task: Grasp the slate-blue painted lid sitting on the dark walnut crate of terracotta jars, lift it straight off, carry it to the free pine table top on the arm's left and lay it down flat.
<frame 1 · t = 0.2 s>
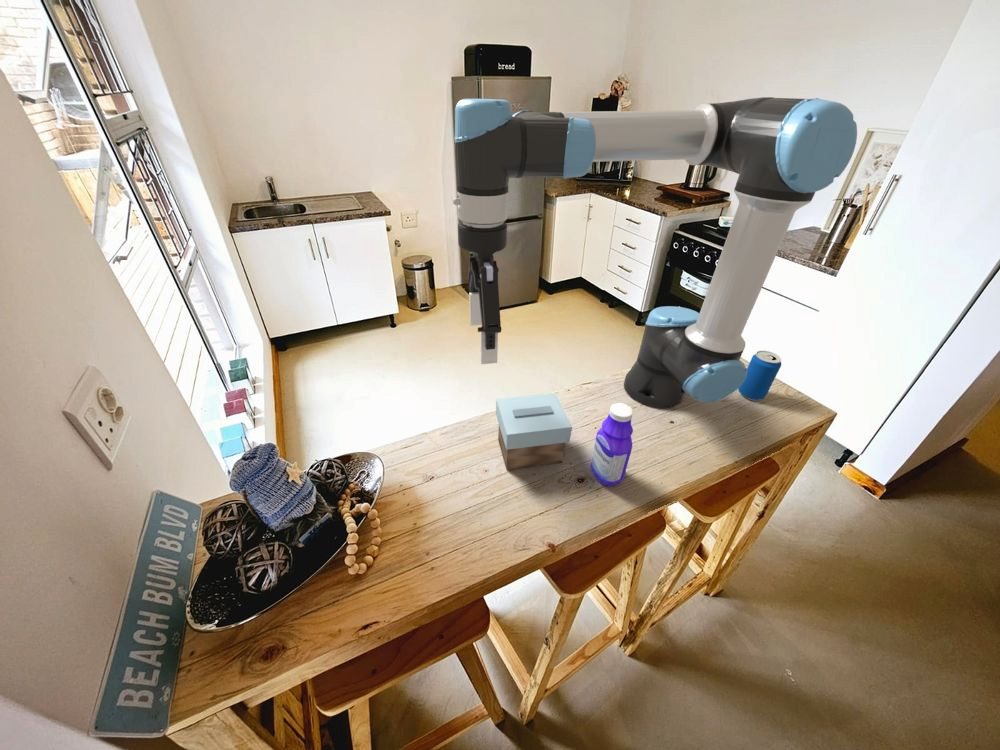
hand: (482, 342, 75), 27 cm above the table, fingers open, 13 cm apart
crate: (529, 451, 90), on the table
beverage can: (750, 395, 109), on the table
lid: (531, 427, 86), point 7 cm above the table, touching crate
bottle: (605, 475, 85), on the table
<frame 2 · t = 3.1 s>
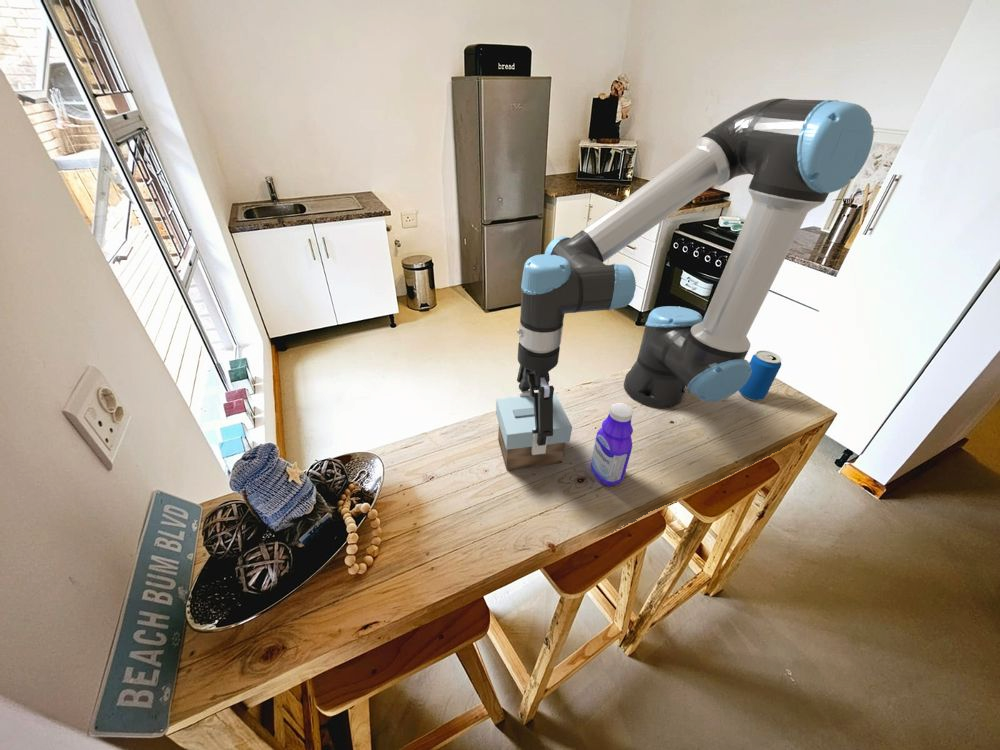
hand: (530, 433, 87), 5 cm above the table, fingers closed on lid, 11 cm apart
lid: (531, 427, 86), point 7 cm above the table, touching crate, gripper
everything else where it was.
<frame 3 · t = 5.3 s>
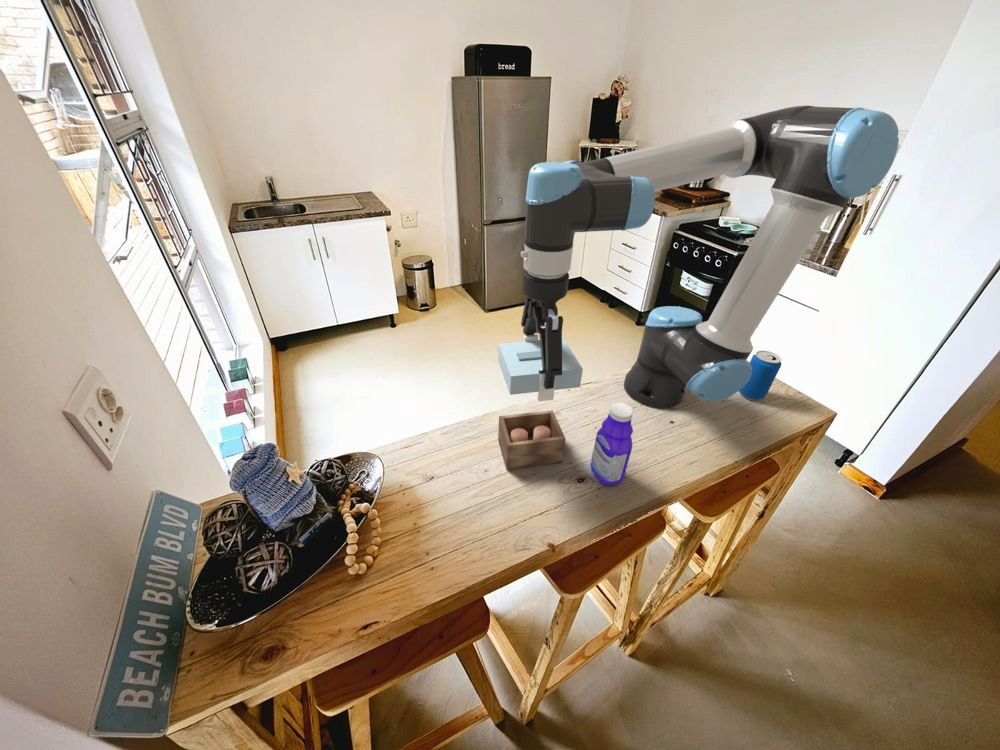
hand: (536, 380, 79), 19 cm above the table, fingers closed on lid, 11 cm apart
lid: (537, 373, 78), point 21 cm above the table, touching gripper
everything else where it was.
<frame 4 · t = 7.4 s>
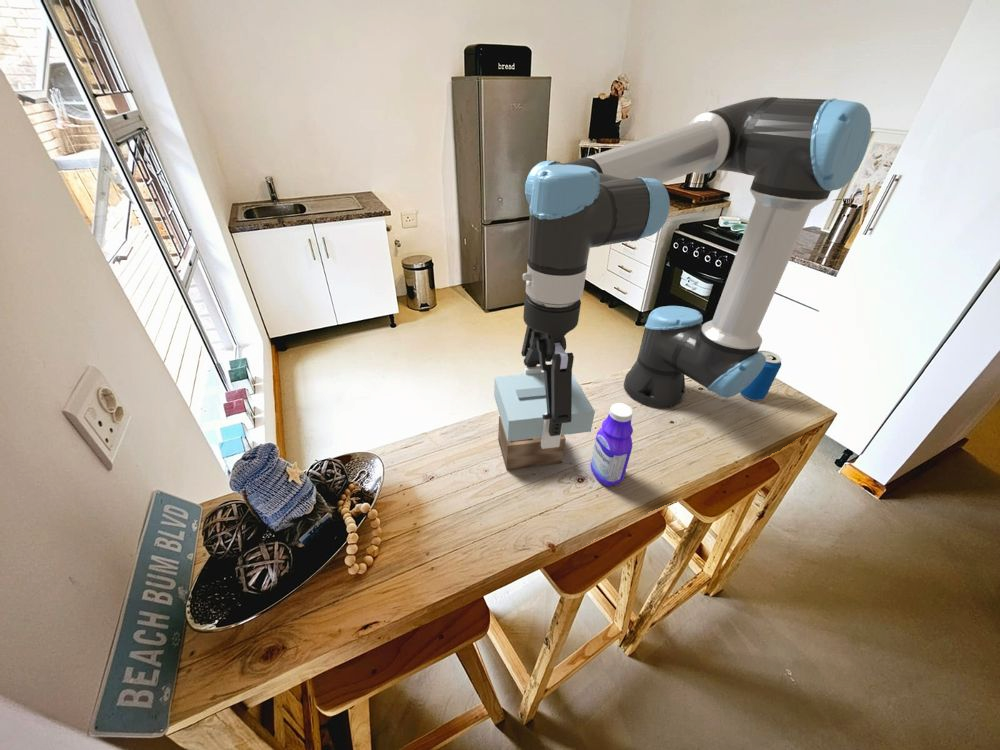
hand: (539, 420, 67), 21 cm above the table, fingers closed on lid, 11 cm apart
lid: (540, 412, 66), point 22 cm above the table, touching gripper
everything else where it was.
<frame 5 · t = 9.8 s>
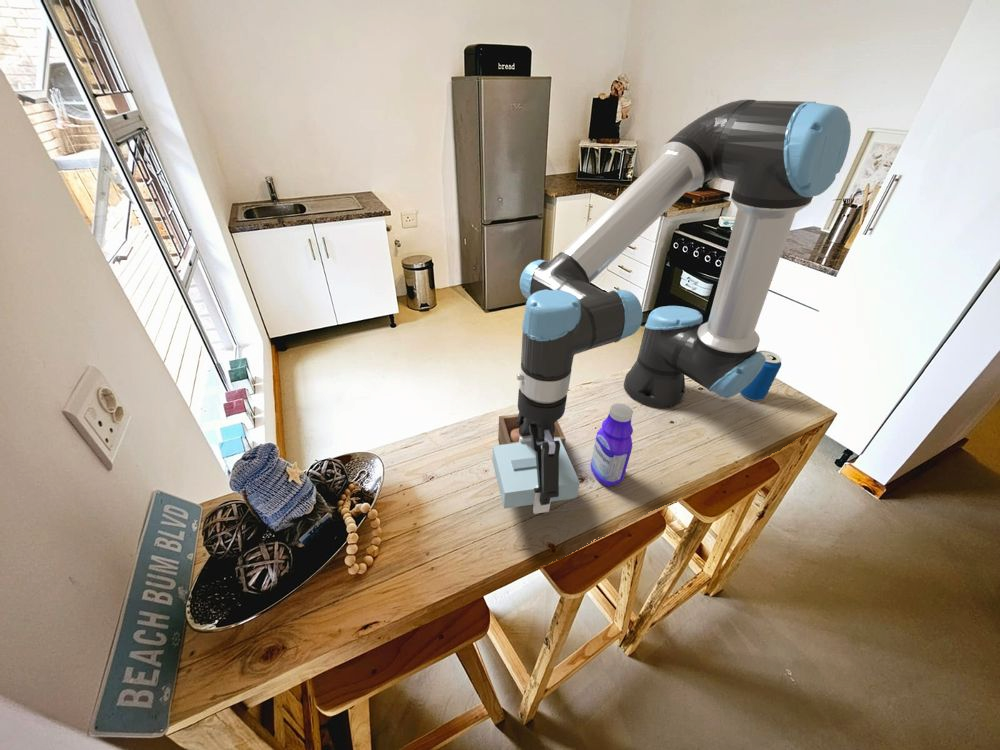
hand: (532, 484, 76), 5 cm above the table, fingers closed on lid, 11 cm apart
lid: (532, 478, 75), point 7 cm above the table, touching gripper
everything else where it was.
when the fingers open (1 cm above the table, at t = 11.8 s): lid drops 1 cm, point 1 cm above the table.
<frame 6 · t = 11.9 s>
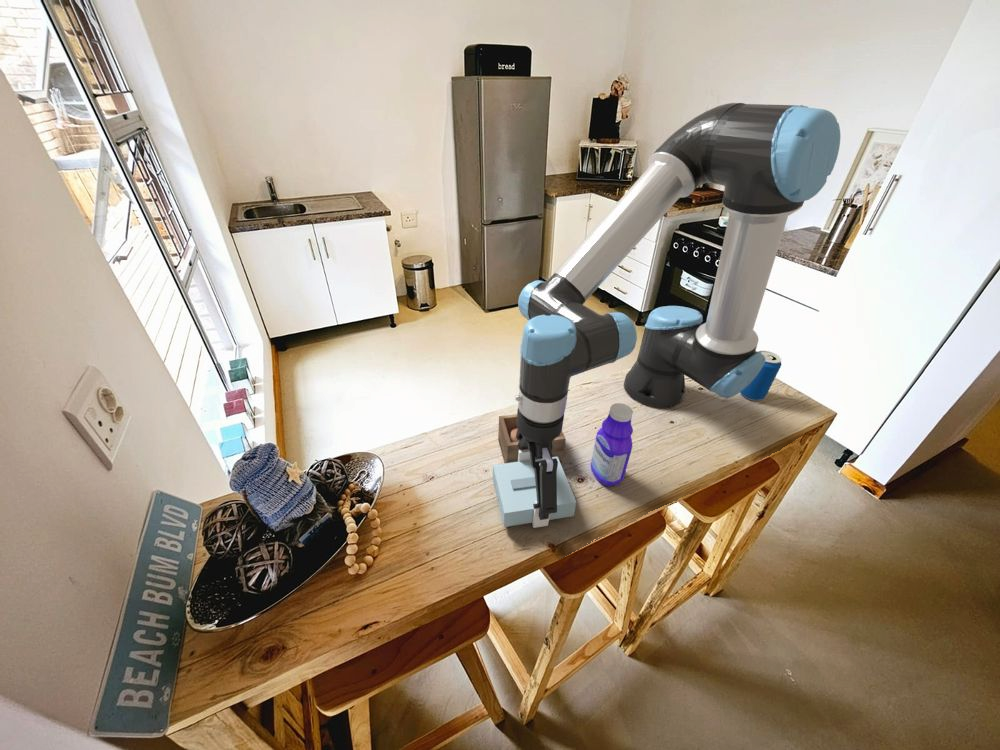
hand: (531, 497, 79), 1 cm above the table, fingers open, 11 cm apart
lid: (531, 496, 79), point 1 cm above the table
everything else where it was.
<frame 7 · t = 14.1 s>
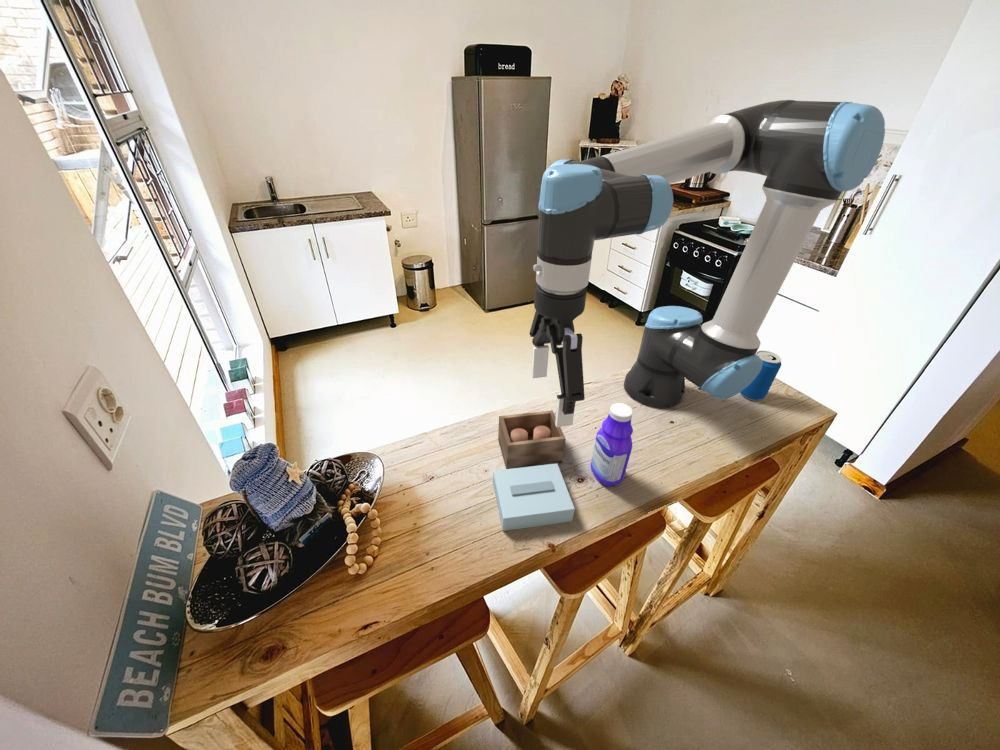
hand: (550, 398, 72), 21 cm above the table, fingers open, 13 cm apart
lid: (530, 502, 80), on the table
everything else where it was.
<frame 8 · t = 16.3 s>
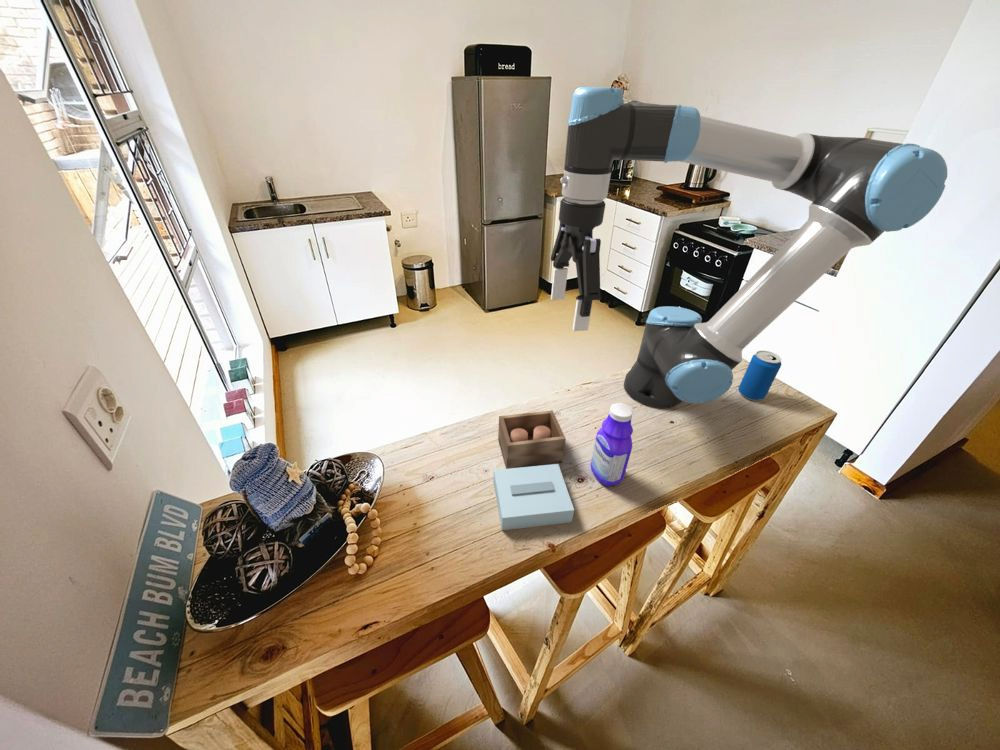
hand: (567, 313, 81), 29 cm above the table, fingers open, 13 cm apart
nothing on the table moved.
at the end: lid inside the target area (0.0 cm from its centre), on the table; lid tilted 0°; lid touching table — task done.
